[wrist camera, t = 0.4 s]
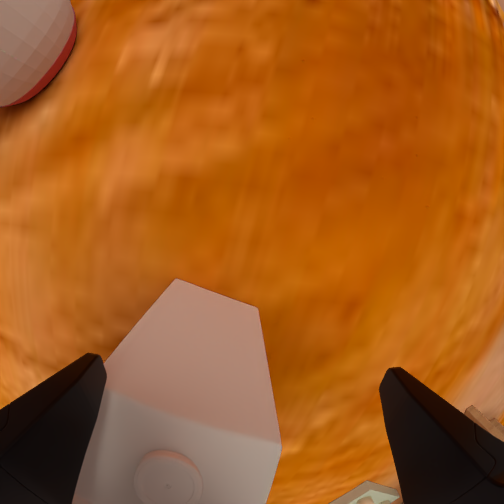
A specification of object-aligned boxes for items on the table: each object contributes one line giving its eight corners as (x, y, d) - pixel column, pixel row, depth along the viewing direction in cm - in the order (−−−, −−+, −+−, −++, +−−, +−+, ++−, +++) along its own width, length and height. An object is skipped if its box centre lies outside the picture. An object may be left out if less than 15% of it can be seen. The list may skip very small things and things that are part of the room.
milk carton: (229, 375, 24) (222, 579, 5) (154, 348, 23) (60, 530, 5) (258, 307, 23) (300, 535, 4) (175, 276, 23) (31, 455, 4)
